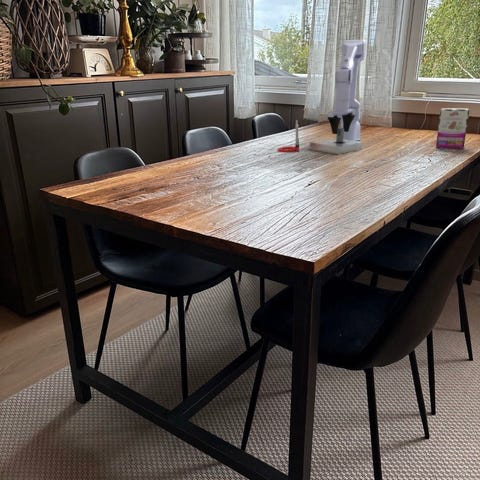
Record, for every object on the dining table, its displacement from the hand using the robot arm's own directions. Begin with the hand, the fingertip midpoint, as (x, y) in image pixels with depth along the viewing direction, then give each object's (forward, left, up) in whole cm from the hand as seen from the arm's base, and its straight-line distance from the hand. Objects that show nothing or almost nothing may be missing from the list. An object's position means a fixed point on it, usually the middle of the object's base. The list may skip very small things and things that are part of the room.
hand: (340, 132), depth 200 cm
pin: (0, 0, -7) cm, 7 cm away
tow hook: (+16, -15, -8) cm, 23 cm away
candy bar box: (-36, +31, -8) cm, 48 cm away
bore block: (0, -2, -7) cm, 7 cm away
